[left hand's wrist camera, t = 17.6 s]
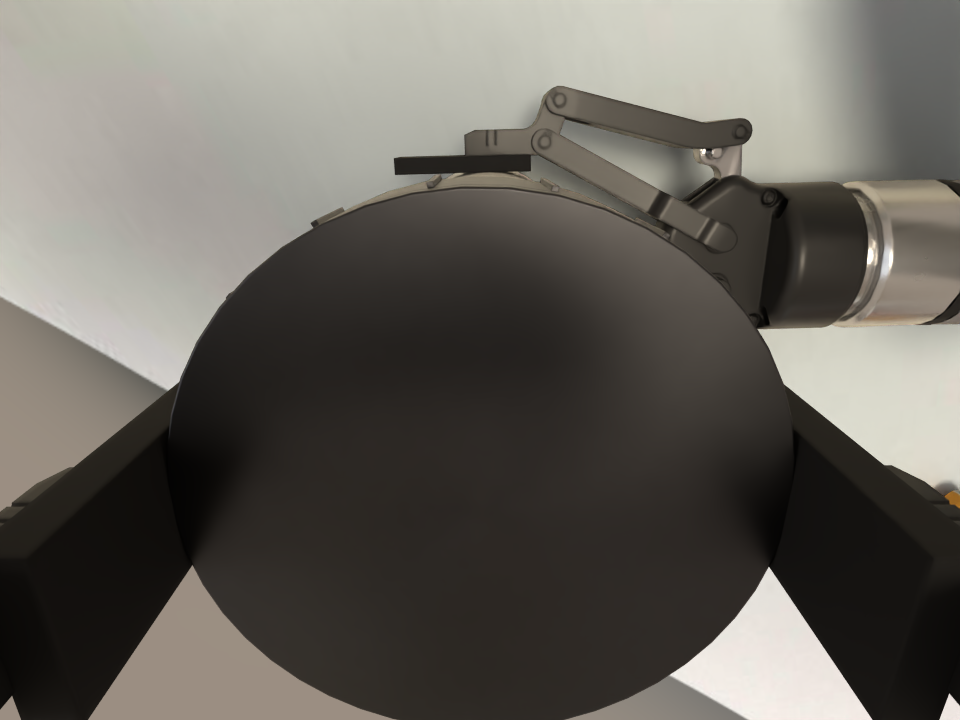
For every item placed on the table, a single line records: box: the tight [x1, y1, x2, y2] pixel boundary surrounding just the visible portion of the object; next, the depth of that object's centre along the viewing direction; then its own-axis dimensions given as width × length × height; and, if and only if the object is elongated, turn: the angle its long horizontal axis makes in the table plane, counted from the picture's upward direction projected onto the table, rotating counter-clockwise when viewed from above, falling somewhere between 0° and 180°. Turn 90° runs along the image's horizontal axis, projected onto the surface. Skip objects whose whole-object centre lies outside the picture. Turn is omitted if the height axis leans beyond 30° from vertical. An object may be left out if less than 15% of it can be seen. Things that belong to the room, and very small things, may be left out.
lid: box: [167, 174, 795, 720], centre depth 11 cm, size 10×11×2 cm
